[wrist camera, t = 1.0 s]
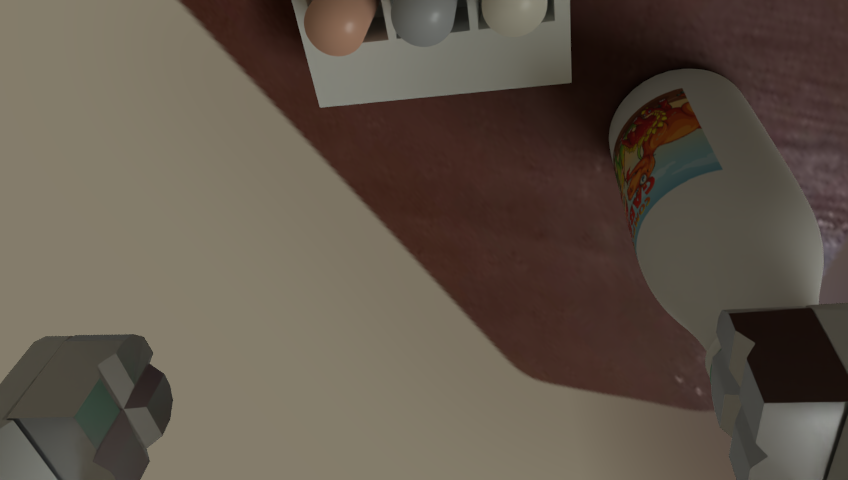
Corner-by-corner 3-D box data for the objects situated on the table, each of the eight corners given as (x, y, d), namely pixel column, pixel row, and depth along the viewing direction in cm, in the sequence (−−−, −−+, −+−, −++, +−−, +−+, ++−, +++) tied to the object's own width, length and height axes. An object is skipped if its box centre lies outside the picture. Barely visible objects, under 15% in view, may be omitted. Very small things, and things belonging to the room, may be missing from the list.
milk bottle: (726, 39, 36) (898, 291, 20) (760, 153, 40) (927, 438, 24) (587, 99, 39) (643, 360, 23) (631, 200, 43) (706, 483, 27)
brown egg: (318, -32, 33) (296, -1, 30) (374, -39, 33) (358, -9, 29) (331, 24, 35) (312, 59, 31) (384, 18, 35) (371, 52, 31)
